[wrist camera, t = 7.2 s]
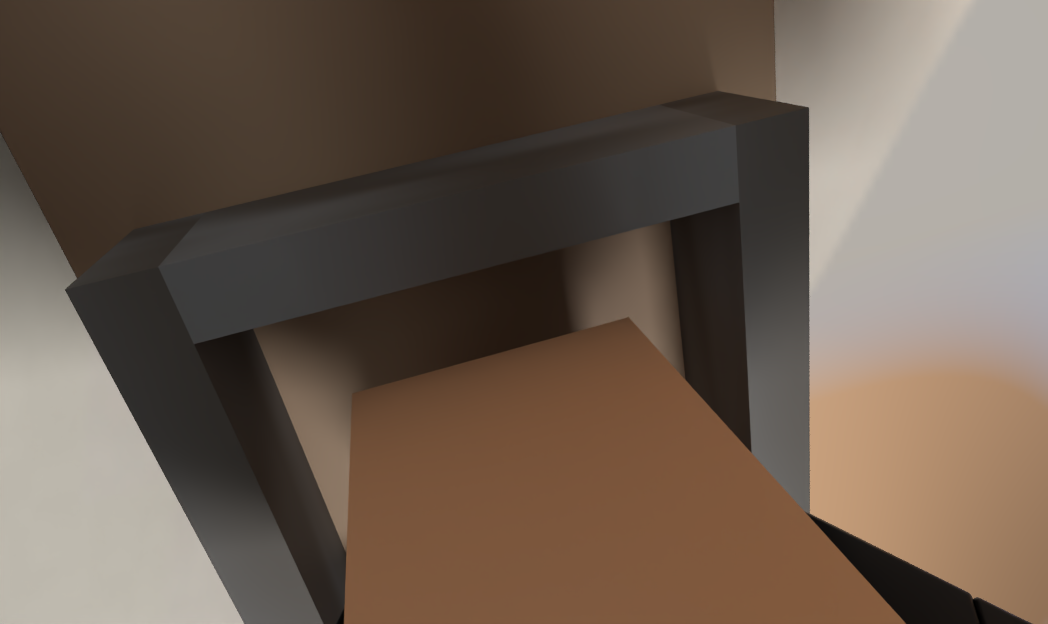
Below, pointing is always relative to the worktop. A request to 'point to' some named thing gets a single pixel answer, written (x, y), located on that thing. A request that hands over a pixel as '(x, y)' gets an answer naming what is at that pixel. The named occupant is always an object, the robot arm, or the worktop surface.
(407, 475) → the connector
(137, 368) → the end holder
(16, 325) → the worktop surface
